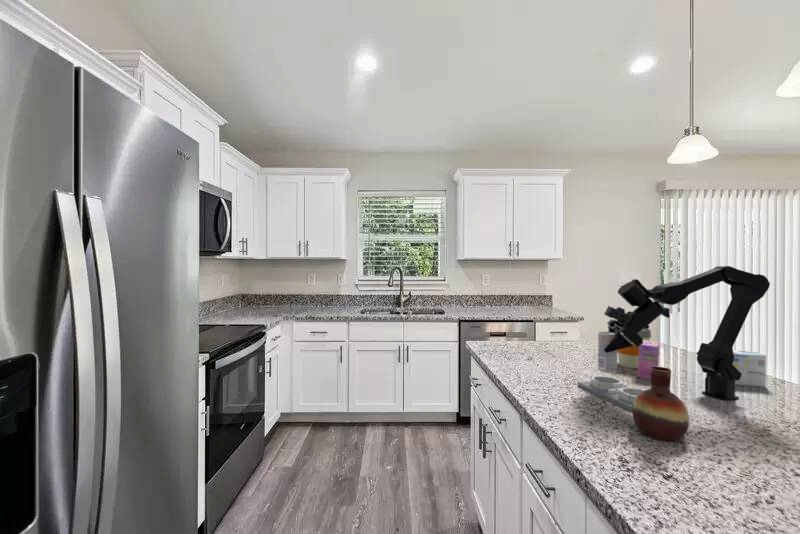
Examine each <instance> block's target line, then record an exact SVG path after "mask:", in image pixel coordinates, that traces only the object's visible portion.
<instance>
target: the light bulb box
mask: <svg viewBox="0 0 800 534" xmlns="http://www.w3.org/2000/svg"><path fill="white" fill-rule="evenodd" d="M733 354H734V361H733V366H734V367H735V368H736V369H737V370H738V371H739V372H740V373H741V374H742V375H741V378H740V380H735V385H736V384H737V385H738V386H739V385H740V386H749V387H750V386H751V387H764V388H766V386H767V385H766V383H767V381H766V380H767V355H766V354H763V353H760V352H757V351H754V350H753V351H751V350H750V351H748V350H734V349H733Z"/></svg>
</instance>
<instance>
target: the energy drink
mask: <svg viewBox="0 0 800 534" xmlns="http://www.w3.org/2000/svg"><path fill="white" fill-rule="evenodd" d="M597 336H598V337H597V338H598V339H597V343H598V345H597V369H598V371H599V372H603V373H609V374H610V373H611V374H614V373H616V372H618V352H617V350H615V351H612V352H608V353H606V352H605V351H604V349H605V348H606V347H607V346H608V344H609V343H610V342H611V341H612V340H613V339H614V338H615V333H613V332H609V331H599V332H598V335H597Z"/></svg>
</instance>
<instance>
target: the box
mask: <svg viewBox="0 0 800 534" xmlns="http://www.w3.org/2000/svg"><path fill="white" fill-rule="evenodd" d="M659 359H660V342H659V341H653V340H650V341H646V340H643V344H641V345H640V346H639V365H638V368H637V369H638V371H637V372H638V373H637V374H638V375H637V376H638V378H643V379H649V380H651V373H650V367H653V366H657V367H660V363H659V362H660V360H659Z"/></svg>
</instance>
